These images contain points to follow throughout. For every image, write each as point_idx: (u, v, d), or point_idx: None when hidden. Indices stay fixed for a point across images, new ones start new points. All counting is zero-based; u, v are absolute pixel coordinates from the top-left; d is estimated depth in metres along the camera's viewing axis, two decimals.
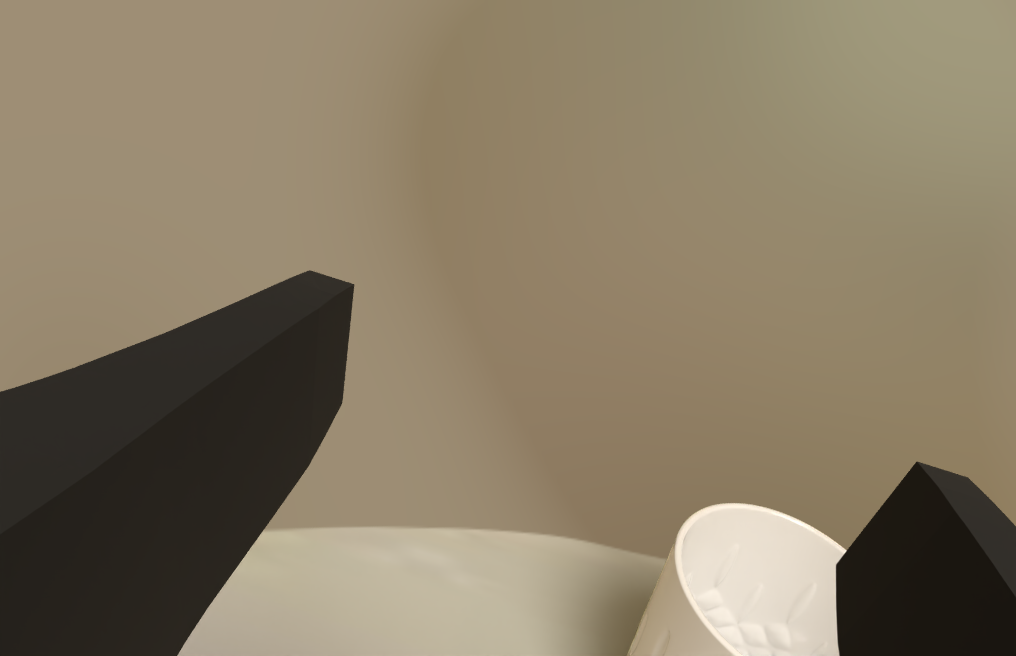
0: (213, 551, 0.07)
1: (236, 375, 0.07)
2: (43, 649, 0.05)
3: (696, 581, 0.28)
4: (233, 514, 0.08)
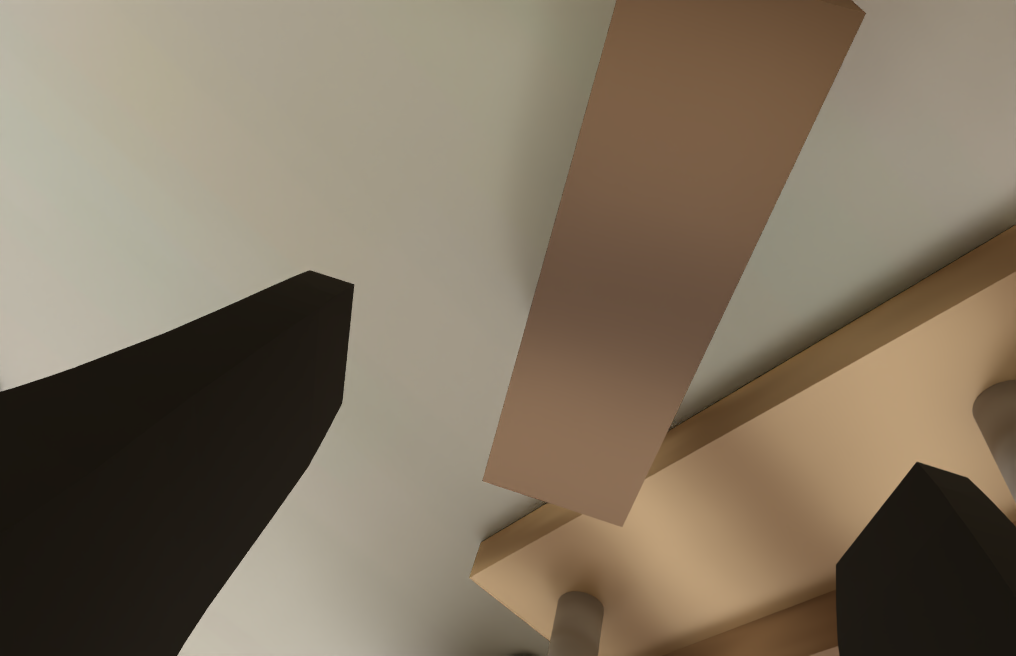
0: (213, 551, 0.07)
1: (236, 375, 0.07)
2: (43, 649, 0.05)
3: None
4: (233, 514, 0.08)
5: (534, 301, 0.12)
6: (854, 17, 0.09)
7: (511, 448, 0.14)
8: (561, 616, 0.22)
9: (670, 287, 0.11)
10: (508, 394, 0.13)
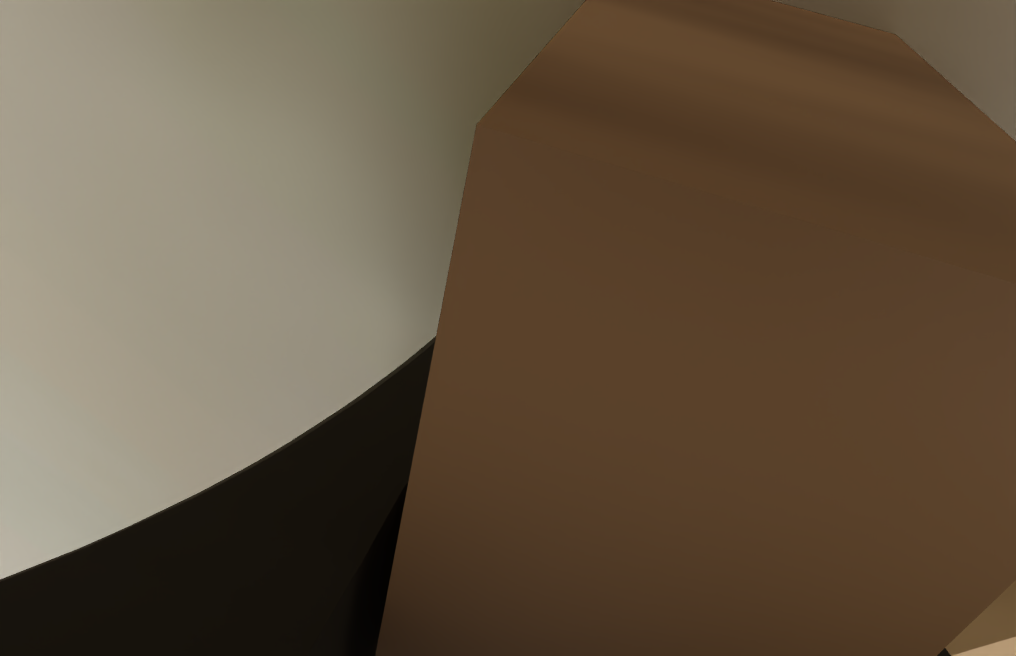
0: None
1: None
2: None
3: None
4: None
5: None
6: None
7: None
8: None
9: None
10: None
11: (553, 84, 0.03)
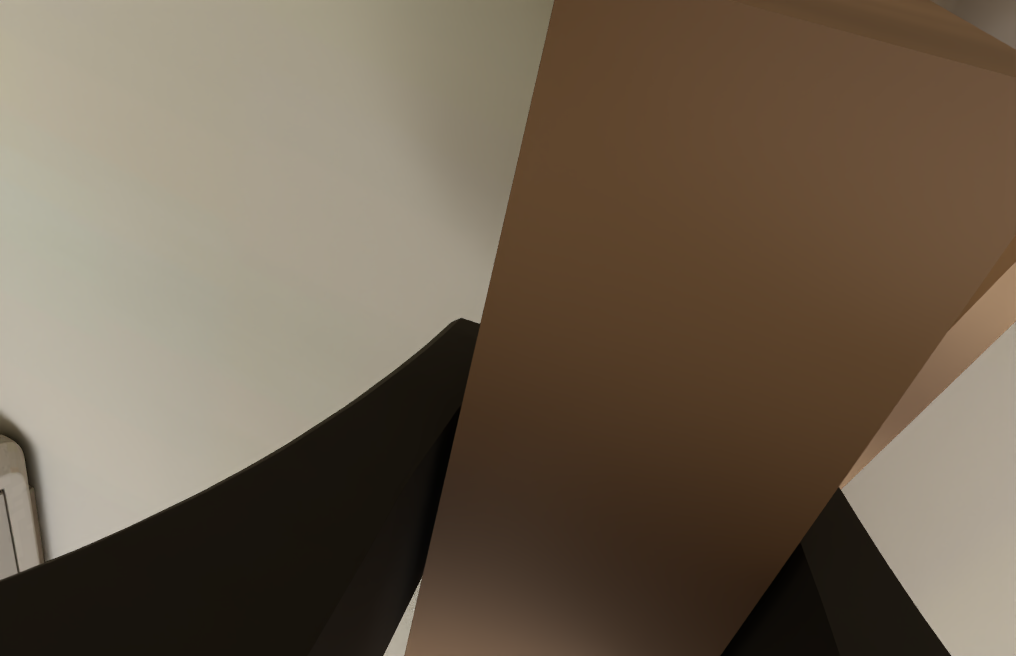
0: (391, 613, 0.07)
1: (439, 442, 0.06)
2: None
3: None
4: (408, 574, 0.07)
5: (430, 554, 0.07)
6: None
7: None
8: None
9: (661, 558, 0.06)
10: None
11: None
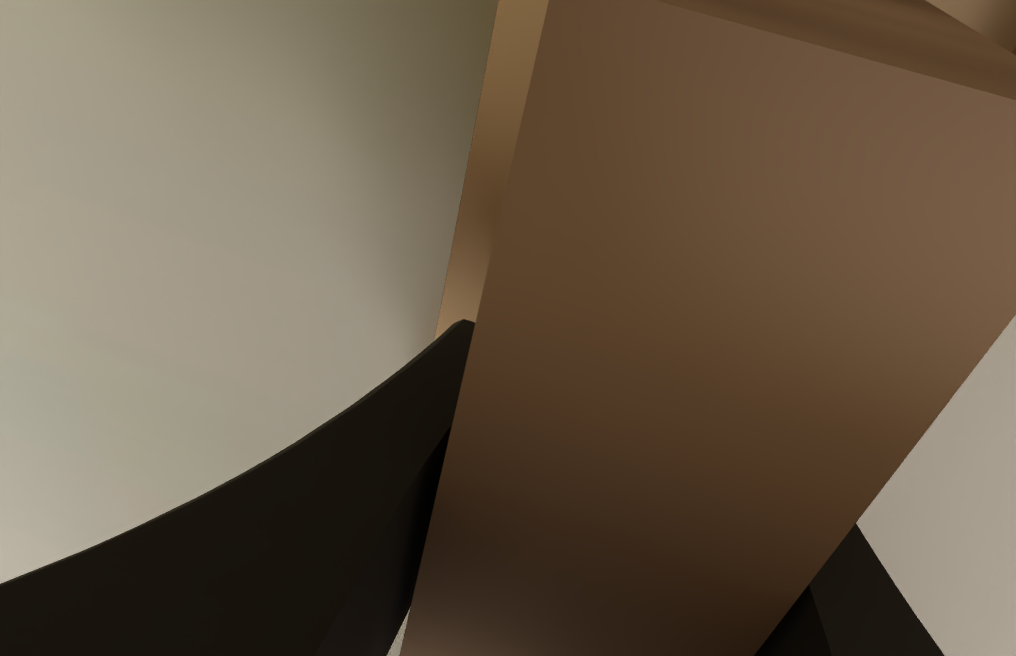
0: (394, 614, 0.07)
1: (442, 442, 0.06)
2: None
3: None
4: (411, 575, 0.07)
5: (417, 591, 0.07)
6: None
7: None
8: None
9: (658, 600, 0.06)
10: None
11: None
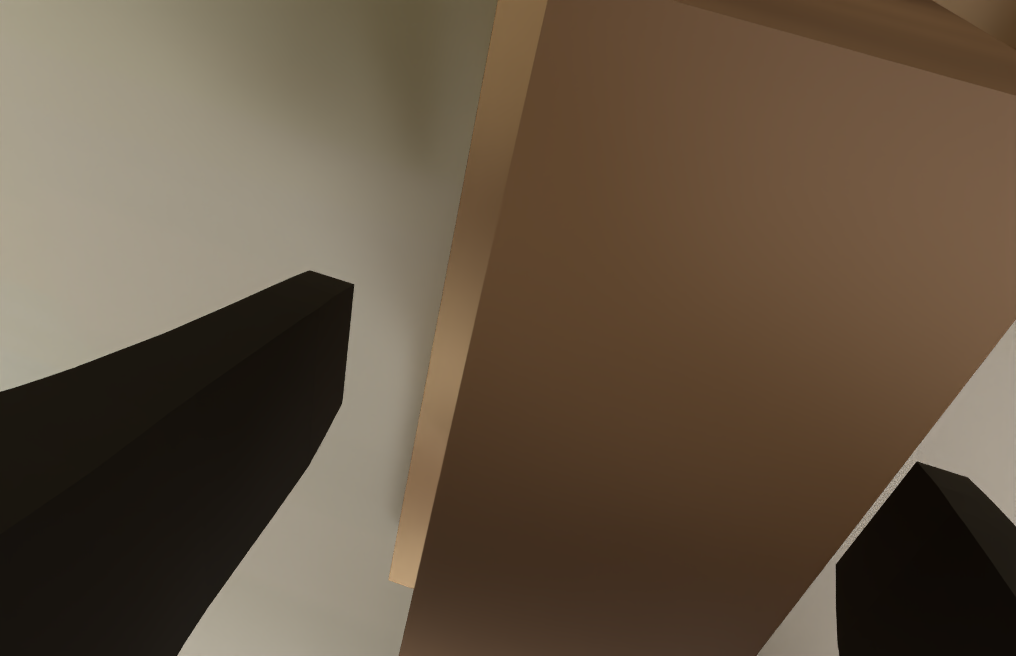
0: (213, 551, 0.07)
1: (236, 375, 0.07)
2: (43, 649, 0.05)
3: None
4: (233, 514, 0.08)
5: (416, 592, 0.07)
6: None
7: None
8: None
9: (658, 602, 0.06)
10: None
11: None
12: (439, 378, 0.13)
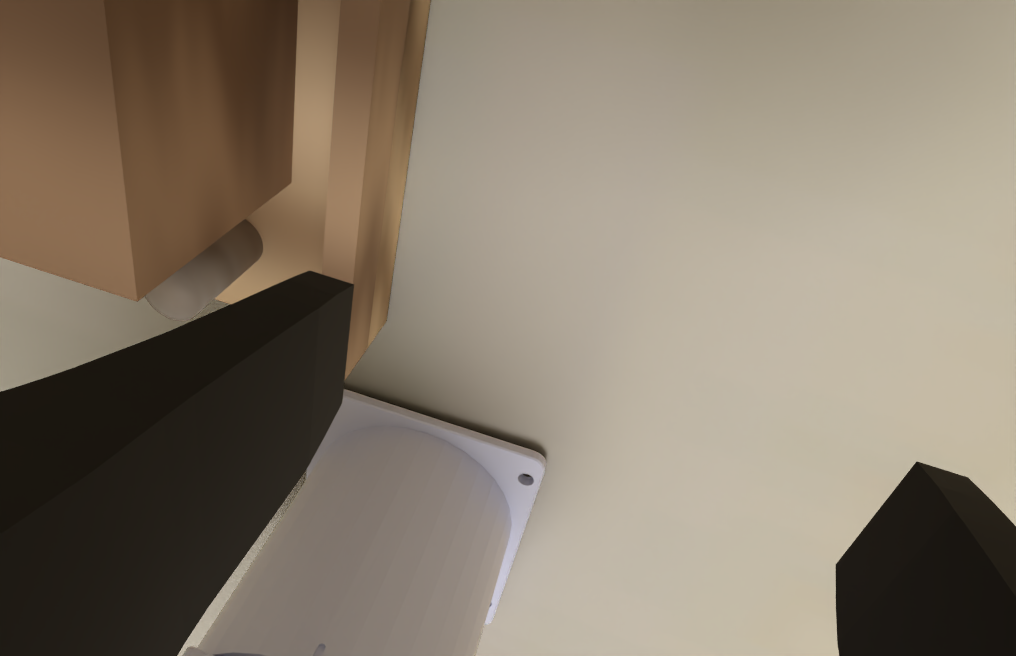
0: (213, 551, 0.07)
1: (236, 375, 0.07)
2: (43, 649, 0.05)
3: None
4: (233, 514, 0.08)
5: None
6: None
7: None
8: None
9: None
10: None
11: None
12: None
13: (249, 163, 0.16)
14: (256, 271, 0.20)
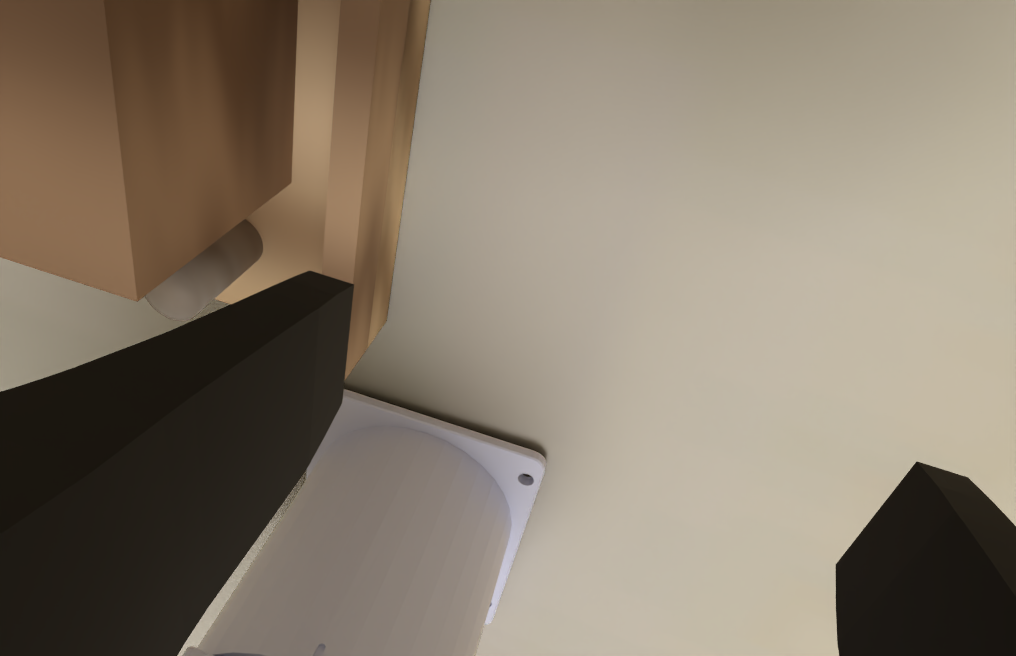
0: (213, 551, 0.07)
1: (236, 375, 0.07)
2: (43, 649, 0.05)
3: None
4: (233, 514, 0.08)
5: None
6: None
7: None
8: None
9: None
10: None
11: None
12: None
13: (249, 163, 0.16)
14: (256, 271, 0.20)
